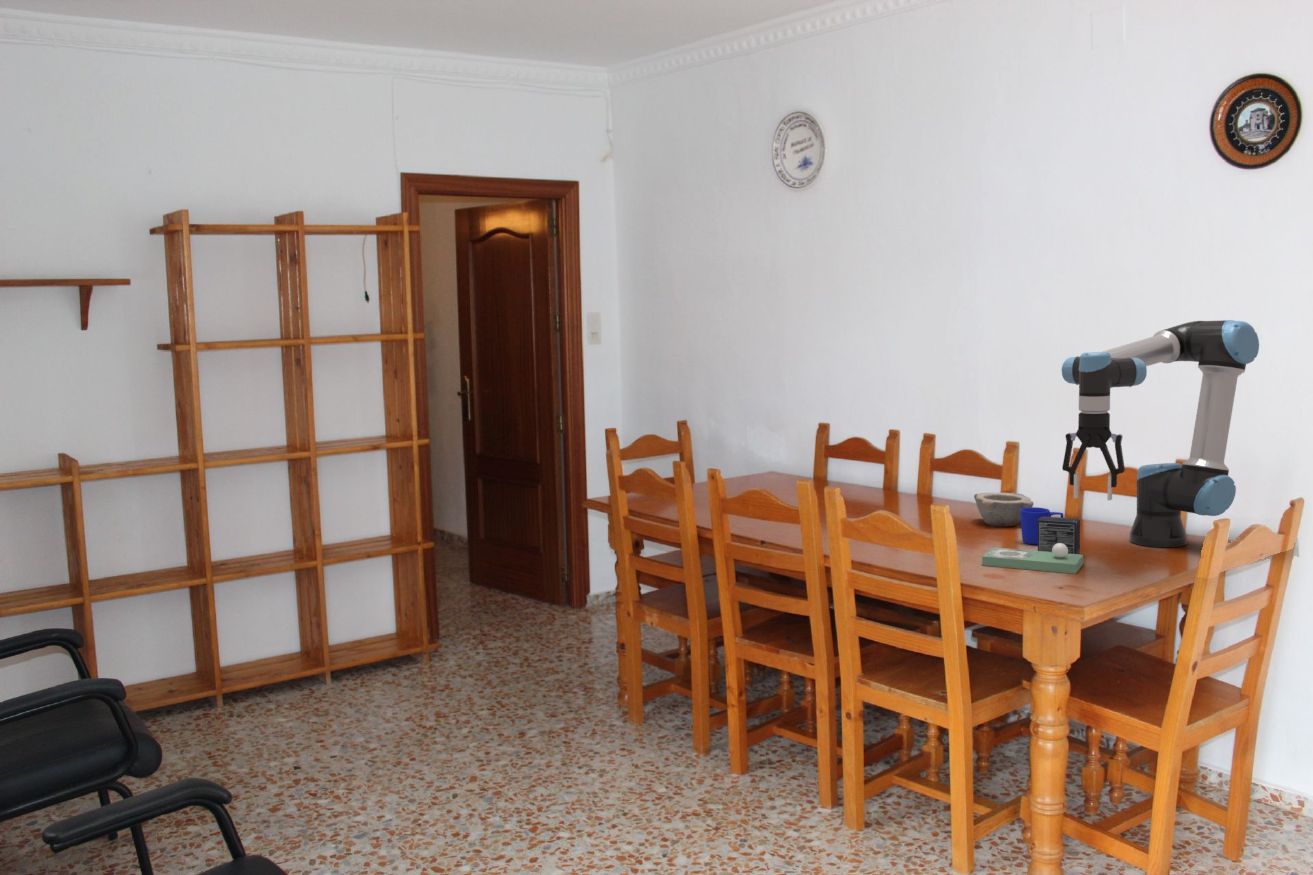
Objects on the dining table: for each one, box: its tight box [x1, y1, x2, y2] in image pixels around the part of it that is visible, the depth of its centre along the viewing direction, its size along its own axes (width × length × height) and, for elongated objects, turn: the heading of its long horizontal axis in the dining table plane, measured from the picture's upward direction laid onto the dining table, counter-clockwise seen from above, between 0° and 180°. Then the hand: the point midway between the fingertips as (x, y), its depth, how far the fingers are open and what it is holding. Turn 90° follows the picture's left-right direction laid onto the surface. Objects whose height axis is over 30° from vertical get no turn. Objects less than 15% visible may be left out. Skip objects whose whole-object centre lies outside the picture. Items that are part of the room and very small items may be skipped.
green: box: [981, 546, 1084, 575], centre depth 286 cm, size 24×12×2 cm, turn 59°
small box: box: [1037, 516, 1081, 555], centre depth 295 cm, size 11×6×10 cm, turn 59°
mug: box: [1020, 506, 1064, 546], centre depth 310 cm, size 8×12×10 cm
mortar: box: [973, 492, 1035, 527], centre depth 339 cm, size 17×17×9 cm
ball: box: [1052, 543, 1068, 558], centre depth 282 cm, size 4×4×4 cm
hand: (1092, 498), depth 276 cm, fingers open, 8 cm apart
